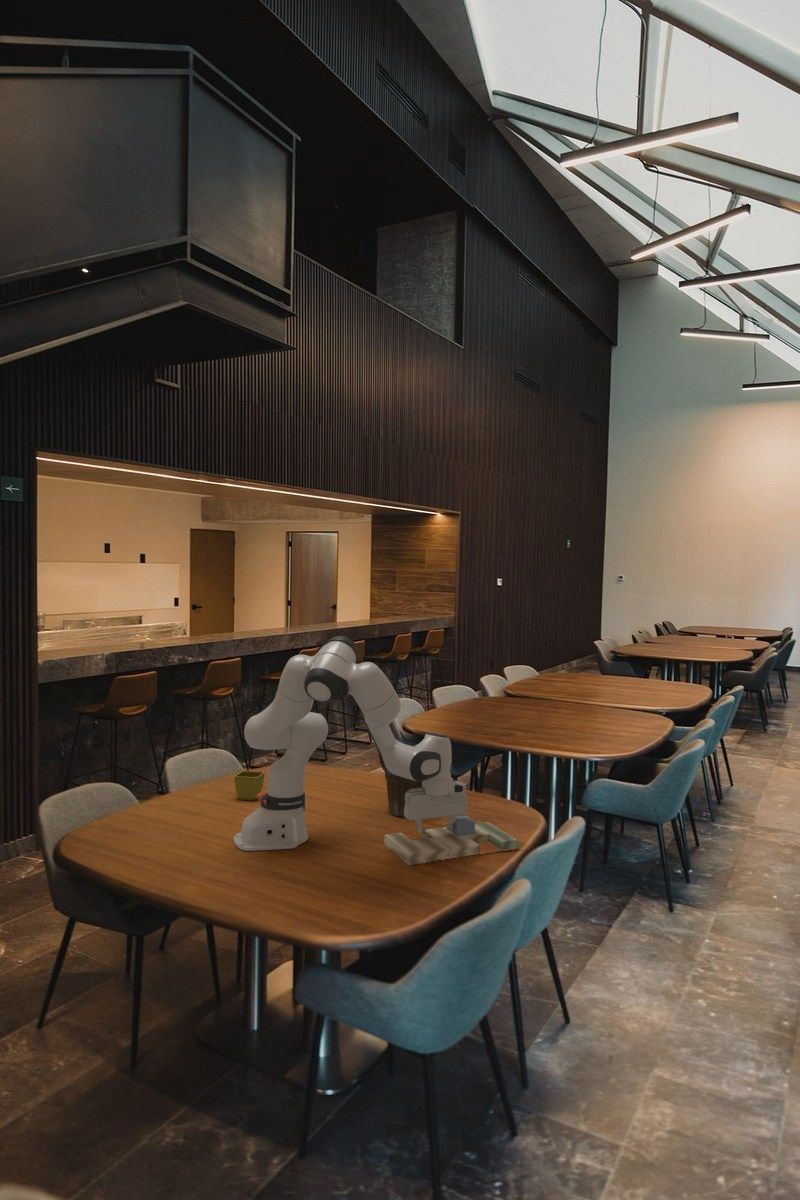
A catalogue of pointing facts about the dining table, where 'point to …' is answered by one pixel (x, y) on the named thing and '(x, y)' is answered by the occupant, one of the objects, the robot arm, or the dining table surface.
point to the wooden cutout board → (447, 843)
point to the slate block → (463, 826)
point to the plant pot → (399, 792)
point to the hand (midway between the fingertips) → (435, 831)
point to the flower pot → (249, 784)
